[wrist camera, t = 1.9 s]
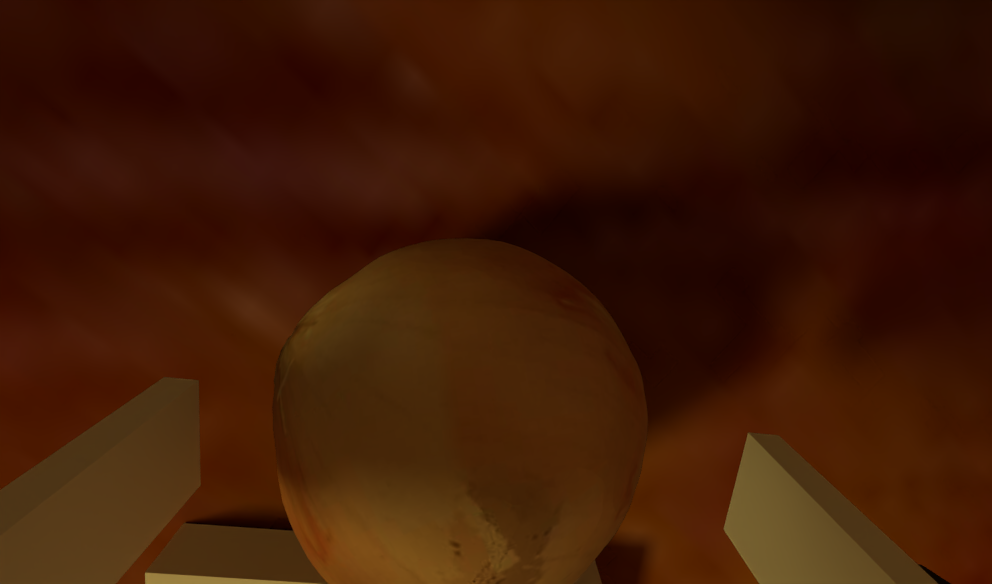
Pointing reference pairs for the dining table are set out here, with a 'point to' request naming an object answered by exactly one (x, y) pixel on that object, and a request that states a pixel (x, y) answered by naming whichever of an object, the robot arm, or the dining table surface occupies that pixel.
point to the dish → (246, 558)
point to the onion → (457, 421)
